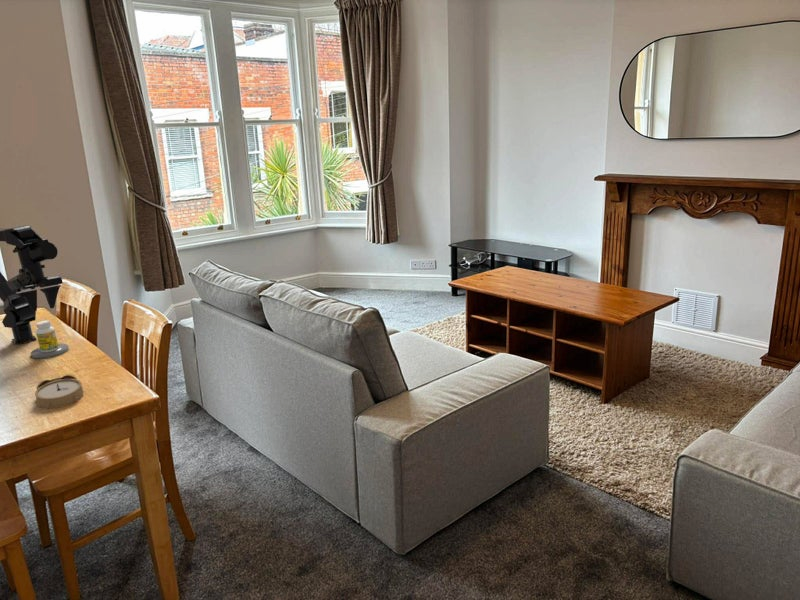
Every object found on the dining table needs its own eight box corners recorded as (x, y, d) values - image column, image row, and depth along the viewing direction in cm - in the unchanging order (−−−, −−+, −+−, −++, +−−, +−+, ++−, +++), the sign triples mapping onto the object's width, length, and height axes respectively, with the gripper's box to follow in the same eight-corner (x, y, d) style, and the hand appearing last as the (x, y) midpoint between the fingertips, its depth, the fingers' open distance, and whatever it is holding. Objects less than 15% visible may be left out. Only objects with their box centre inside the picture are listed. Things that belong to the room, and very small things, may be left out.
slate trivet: (27, 353, 202) (26, 350, 202) (63, 343, 209) (62, 341, 209) (36, 361, 194) (35, 358, 194) (73, 351, 201) (72, 348, 201)
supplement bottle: (61, 346, 204) (55, 319, 201) (55, 351, 199) (48, 324, 196) (44, 347, 203) (38, 320, 200) (37, 353, 198) (31, 325, 195)
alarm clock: (36, 403, 158) (31, 376, 169) (40, 419, 160) (34, 390, 171) (84, 391, 164) (75, 365, 175) (87, 406, 166) (79, 380, 177)
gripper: (-11, 271, 199) (2, 318, 201) (24, 263, 190) (38, 312, 192) (22, 266, 208) (34, 310, 211) (57, 258, 200) (70, 304, 202)
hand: (43, 309), depth 204 cm, fingers open, 9 cm apart
